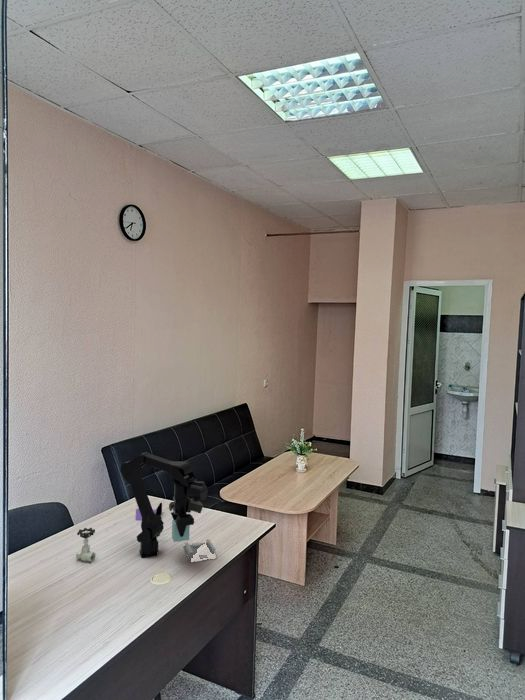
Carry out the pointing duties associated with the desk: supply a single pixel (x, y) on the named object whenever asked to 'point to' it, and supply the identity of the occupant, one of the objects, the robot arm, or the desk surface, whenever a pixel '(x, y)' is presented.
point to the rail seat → (193, 548)
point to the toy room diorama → (156, 511)
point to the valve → (86, 546)
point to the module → (176, 534)
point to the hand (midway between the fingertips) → (180, 534)
